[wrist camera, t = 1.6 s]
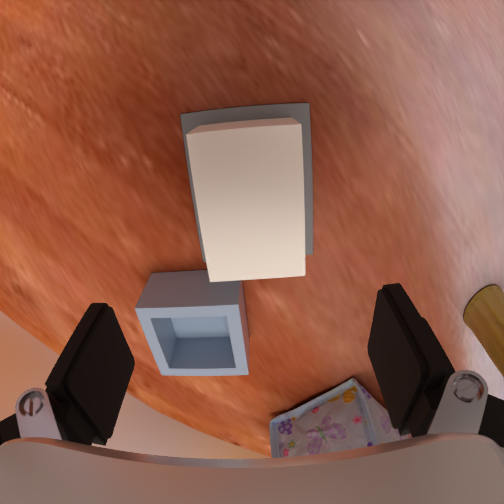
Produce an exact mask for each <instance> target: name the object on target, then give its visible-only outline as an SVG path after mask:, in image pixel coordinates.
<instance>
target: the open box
mask: <svg viewBox="0 0 504 504" xmlns="http://www.w3.org/2000/svg"><path fill="white" fill-rule="evenodd" d="M135 310H136V313H137V315H138V318H139V321H140V323H141V326H142V329H143V331H144V334H145V336H146V339H147V341H148V344H149V346H150V349H151V351H152V354H153V356H154V358H155V361H156V363H157V365H158V368H159V370H160V372H161V374H162V375H175V376H224V375H249V337H250V336H249V328H248V320H247V312H246V304H245V296H244V288H243V280H236V281H220V282H210V279H209V274H208V270H195V271H178V272H162V273H151V275H150V277H149V279H148V281H147V283H146V286H145V288H144V290H143V292H142V294H141V296H140V298H139V300H138V303H137V305H136V307H135Z"/></svg>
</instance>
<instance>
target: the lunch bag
mask: <svg viewBox="0 0 504 504" xmlns="http://www.w3.org/2000/svg"><path fill="white" fill-rule="evenodd" d="M269 431H270V445H271V454H272V458H283V457H295V456H306V455H315V454H324V453H331V452H338V451H345V450H351V449H357V448H363V447H369V446H374V445H379V444H384V443H389V442H394V441H398V440H403V439H408V438H412V436H411V434H407V435H403V436H400V434H399V431H398V429H394V428H393V426H392V423H391V420H390V417H389V414H388V411H387V410H386V409H385V408H384V407H383V406H382V405H381V404H380V403H378V402H377V401H376V400H375V399H374V398H373V397H372V396H371V395H370V394H369V393H368V392H367V391H366V389H365V388H364V387H363V386H362V385H360V384H359V383H358V381H357V380H356V379H354V378H352V379H350V380H348V381H347V382H345V383H343V384H341V385H339V386H338V387H336V388H334V389H332V390H331V391H329V392H327V393H325V394H323V395H321V396H319V397H317V398H315V399H313V400H311V401H309V402H307V403H305V404H303V405H301V406H300V407H298V408H296V409H293V410H291V411H289V412H286V413H284V414H281V415H279V416H277V417H275V418H274V419H272V420H271V421H270V425H269Z"/></svg>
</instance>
